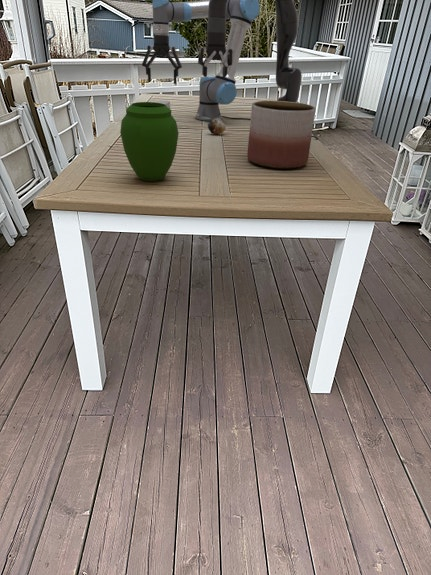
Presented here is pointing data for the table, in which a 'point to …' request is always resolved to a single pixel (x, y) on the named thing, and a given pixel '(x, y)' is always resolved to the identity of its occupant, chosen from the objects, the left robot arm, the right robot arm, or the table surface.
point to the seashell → (216, 126)
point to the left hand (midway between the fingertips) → (162, 82)
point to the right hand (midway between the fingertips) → (214, 76)
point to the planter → (280, 134)
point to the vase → (149, 139)
